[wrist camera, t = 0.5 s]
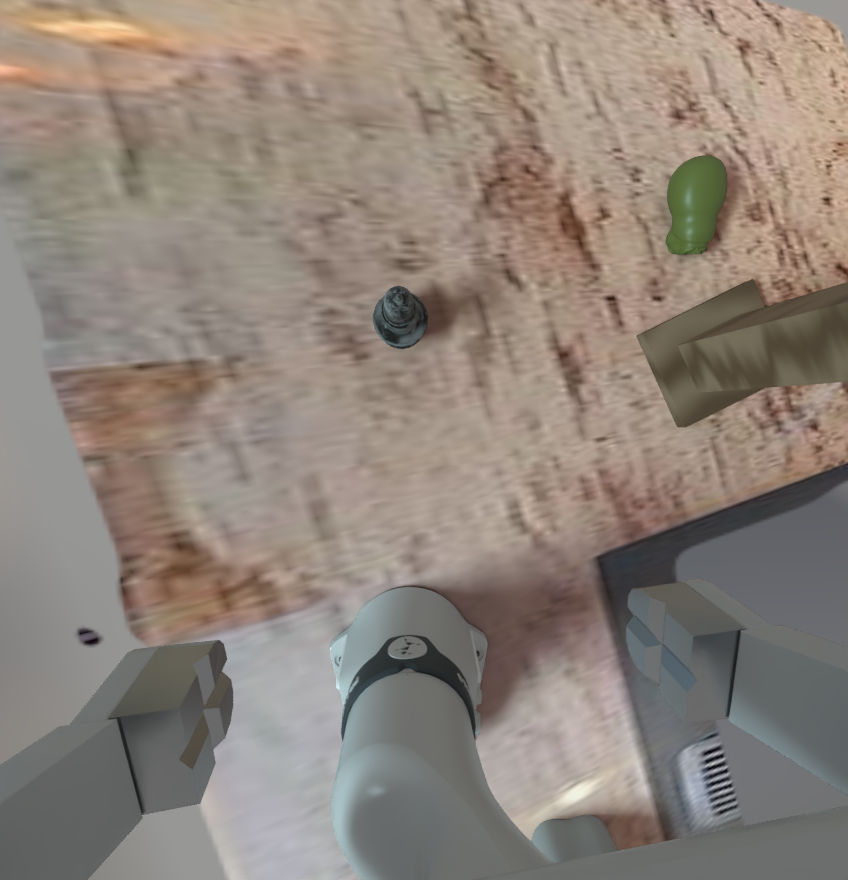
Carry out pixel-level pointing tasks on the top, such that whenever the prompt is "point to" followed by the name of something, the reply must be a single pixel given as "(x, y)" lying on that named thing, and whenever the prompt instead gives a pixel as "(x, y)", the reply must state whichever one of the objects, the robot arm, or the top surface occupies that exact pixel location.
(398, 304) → the dark chess piece
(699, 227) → the pear
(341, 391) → the top surface
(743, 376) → the shelf stand
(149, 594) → the top surface
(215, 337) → the top surface
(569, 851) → the lumpy-topped squat cylinder
